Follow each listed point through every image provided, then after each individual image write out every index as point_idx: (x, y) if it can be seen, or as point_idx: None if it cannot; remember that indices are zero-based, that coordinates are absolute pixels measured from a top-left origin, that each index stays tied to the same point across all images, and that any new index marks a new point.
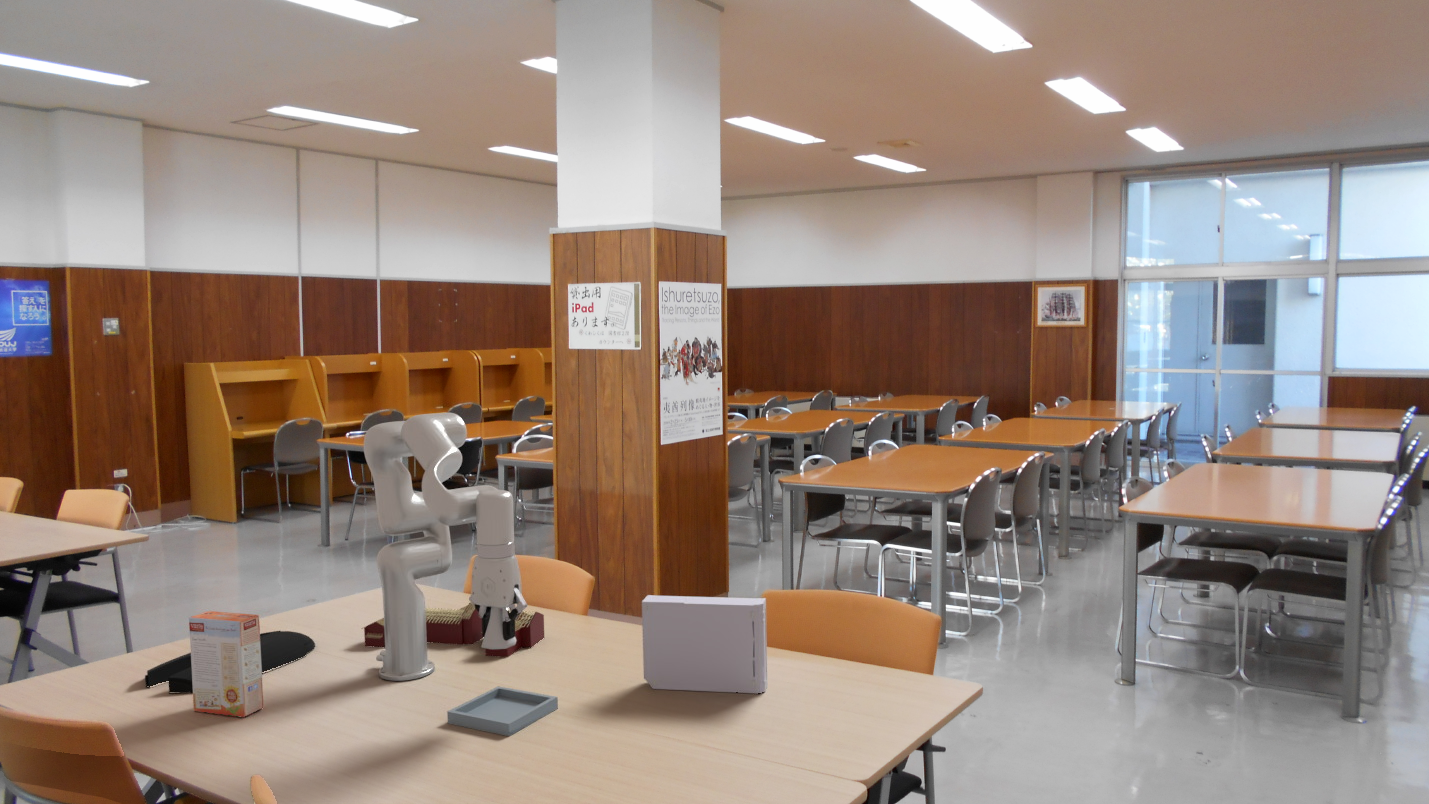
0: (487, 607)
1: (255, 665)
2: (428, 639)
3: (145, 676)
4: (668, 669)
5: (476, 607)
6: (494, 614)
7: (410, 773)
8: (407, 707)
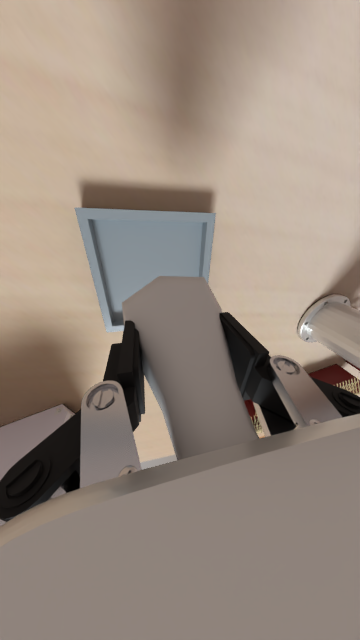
0: (288, 420)
1: None
2: (324, 371)
3: None
4: (33, 433)
5: (345, 394)
6: (203, 393)
7: None
8: (286, 240)
